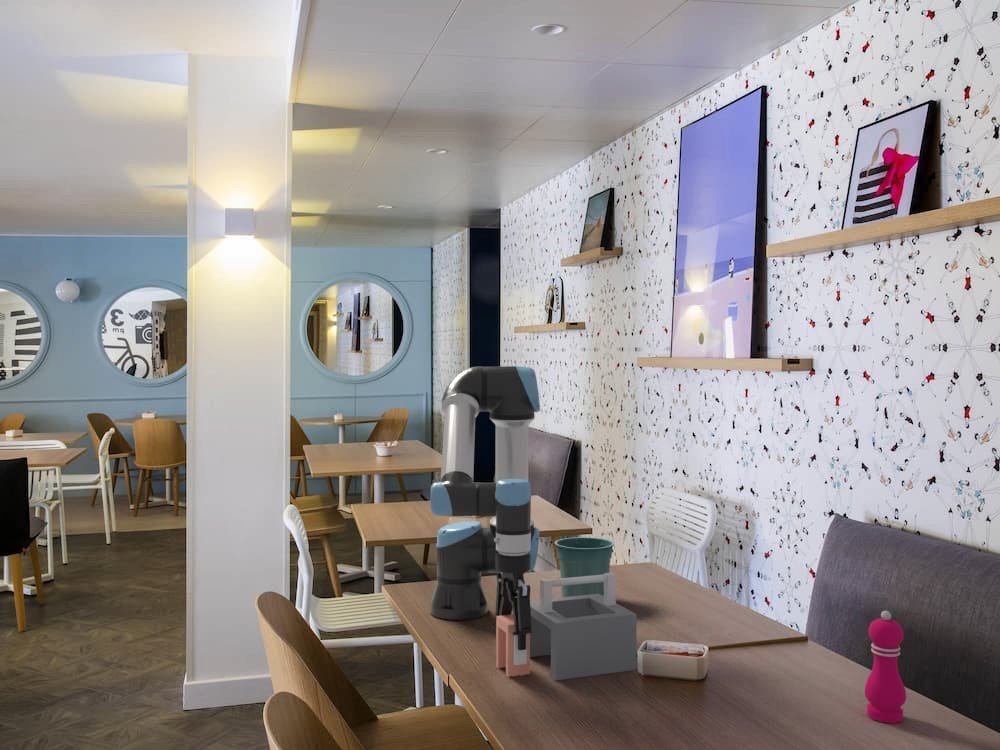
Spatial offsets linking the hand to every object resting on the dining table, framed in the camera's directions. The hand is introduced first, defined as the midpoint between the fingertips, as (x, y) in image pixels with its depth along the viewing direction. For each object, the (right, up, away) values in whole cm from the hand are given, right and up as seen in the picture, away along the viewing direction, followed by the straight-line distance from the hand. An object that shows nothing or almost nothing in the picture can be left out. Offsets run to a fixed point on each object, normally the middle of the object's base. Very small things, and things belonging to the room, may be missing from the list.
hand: (512, 657), depth 196 cm
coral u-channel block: (0, -3, 0) cm, 3 cm away
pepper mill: (+69, -4, -25) cm, 74 cm away
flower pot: (+21, -2, +56) cm, 60 cm away
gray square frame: (+15, -3, +6) cm, 16 cm away
